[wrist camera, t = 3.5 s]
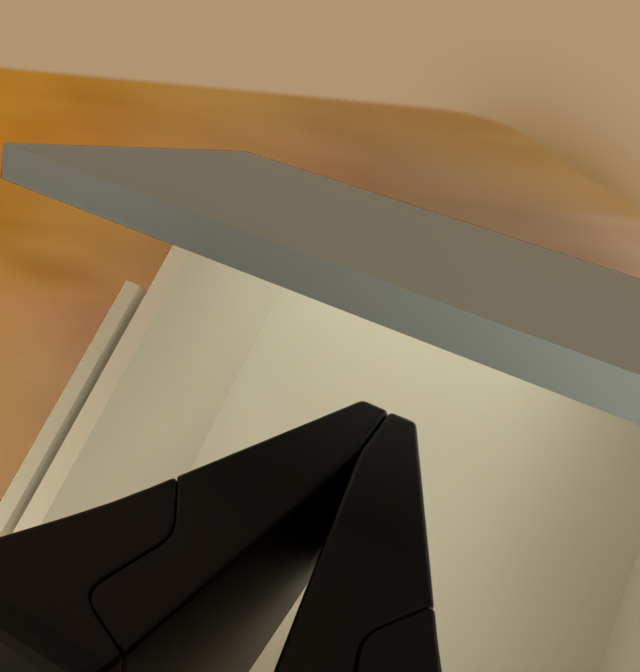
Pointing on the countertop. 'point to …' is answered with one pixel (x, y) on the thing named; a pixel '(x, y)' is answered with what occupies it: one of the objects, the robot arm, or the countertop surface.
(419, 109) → the countertop surface
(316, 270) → the far flap
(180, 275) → the carton
